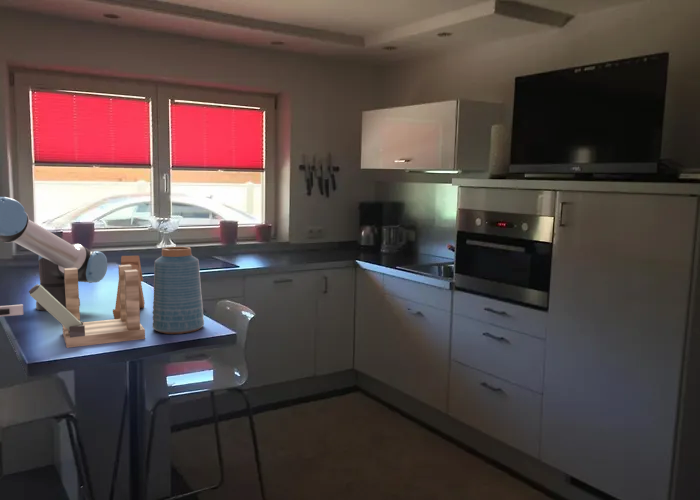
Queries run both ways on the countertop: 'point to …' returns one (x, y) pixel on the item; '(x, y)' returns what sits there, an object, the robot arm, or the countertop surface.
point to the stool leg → (54, 307)
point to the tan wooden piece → (135, 264)
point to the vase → (177, 292)
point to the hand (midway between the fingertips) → (23, 309)
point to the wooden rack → (105, 329)
